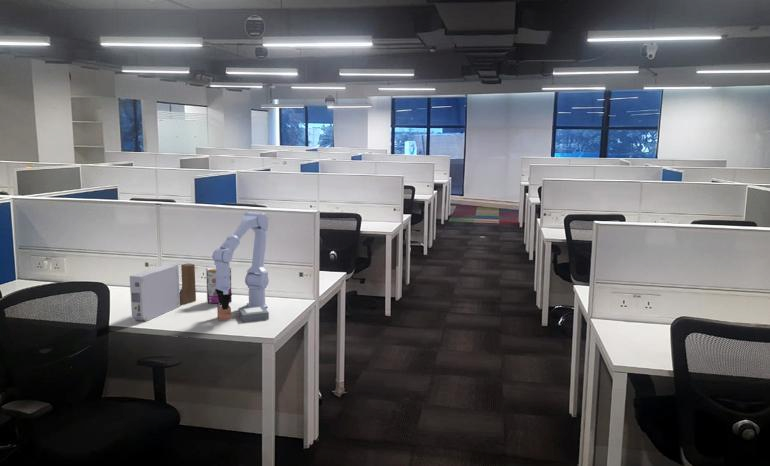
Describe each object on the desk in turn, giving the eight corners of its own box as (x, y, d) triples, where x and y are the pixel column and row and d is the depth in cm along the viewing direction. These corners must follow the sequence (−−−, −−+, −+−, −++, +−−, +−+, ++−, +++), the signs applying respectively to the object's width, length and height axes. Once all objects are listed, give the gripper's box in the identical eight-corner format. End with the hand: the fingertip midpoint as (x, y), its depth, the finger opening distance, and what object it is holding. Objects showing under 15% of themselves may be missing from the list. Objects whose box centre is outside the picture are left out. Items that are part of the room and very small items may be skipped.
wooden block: (181, 305, 282) (179, 267, 280) (174, 303, 285) (172, 266, 282) (196, 301, 290) (194, 264, 287) (190, 299, 292) (188, 263, 290)
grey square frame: (238, 315, 267) (238, 308, 267) (263, 312, 272) (263, 305, 271) (243, 321, 257) (242, 314, 257) (268, 319, 262) (268, 311, 261)
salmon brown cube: (217, 317, 264) (217, 306, 263) (229, 316, 266) (228, 305, 265) (219, 320, 259) (218, 309, 259) (231, 319, 261) (230, 308, 261)
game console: (182, 306, 281) (180, 264, 278) (143, 323, 255) (141, 276, 252) (171, 305, 282) (169, 263, 279) (132, 321, 257) (129, 275, 254)
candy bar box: (207, 304, 284) (206, 270, 282) (206, 301, 289) (205, 268, 287) (232, 302, 288) (231, 268, 286) (230, 299, 293) (229, 266, 291)
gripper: (211, 273, 265) (212, 303, 267) (215, 280, 252) (216, 312, 254) (227, 272, 268) (228, 302, 270) (233, 279, 254) (233, 310, 256)
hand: (223, 307), depth 262 cm, fingers open, 7 cm apart
